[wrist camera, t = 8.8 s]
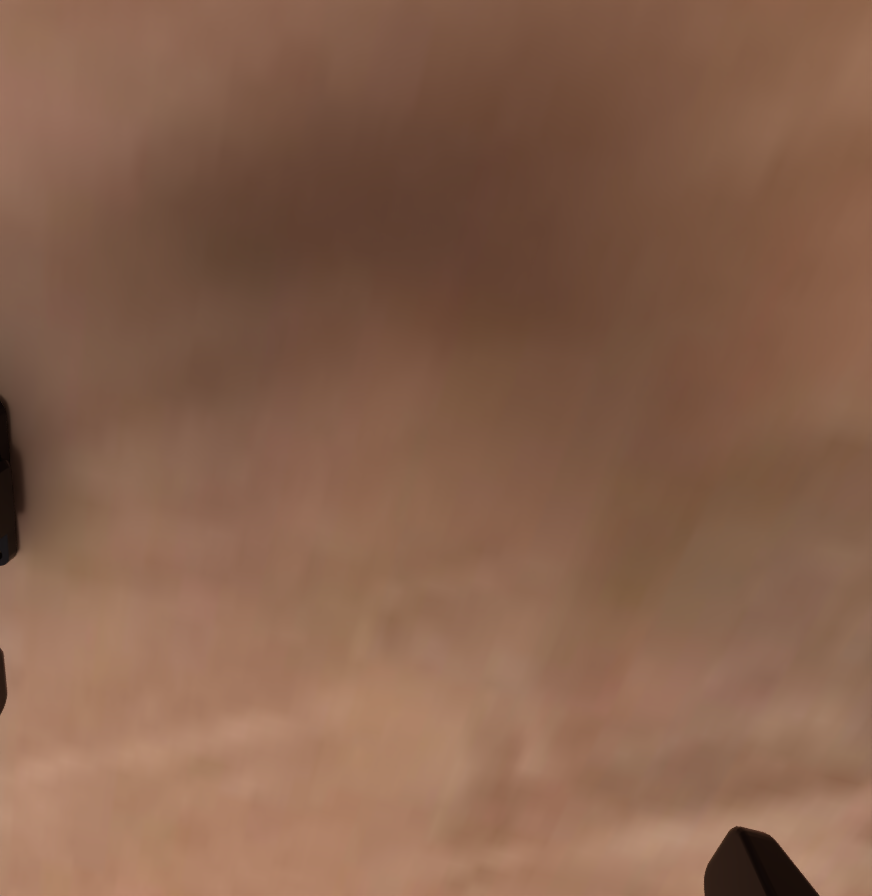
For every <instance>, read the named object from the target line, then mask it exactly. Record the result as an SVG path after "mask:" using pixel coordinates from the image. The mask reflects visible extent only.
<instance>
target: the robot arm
mask: <svg viewBox="0 0 872 896" xmlns="http://www.w3.org/2000/svg"><path fill="white" fill-rule="evenodd" d="M16 552H17V547H16V535H15V514H14V501H13V488H12V475H11V467H10V457H9V444H8V432H7V419H6V411H5V407H4V406H3V404H2V403H1V401H0V566H2V565H5V564H7V563H8V562H9V561H10V560H12V559H13V558H14V557H15V556H16ZM6 699H7V684H6V674H5V663H4V654H3V651H2V650H1V648H0V714H1V713H2V711H3V708H4V706H5V703H6ZM704 892H705V896H819V894H818V893H817V892H816V891H815V889H814V888H813V887H812V886H811V884H810V883H809V882H808V880H807V879H806V878H805V877H804V875H803V874H802V873H801V872H800V870H799V869H798V868H797V867H796V865H795V864H794V863H793V862H792V860H791V859H790V858H789V857H788V855H787V854H786V853H785V852H784V850H783V849H782V848H781V847H780V845H779V844H778V843H777V842H776V841H775V840H774V839H773V838H772V837H771V836H770V835H768V834H766V833H764V832H760V831H756V830H752V829H748V828H744V827H737V826H736V827H734V828H732V829H731V830H730V831H729V832H728V833H727V835H726V837H725V838H724V840H723V841H722V843H721V844H720V846H719V847H718V849H717V851H716V852H715V854H714V855H713V857H712V858H711V860H710V862H709V863H708V865H707V868H706V871H705V876H704Z"/></svg>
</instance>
